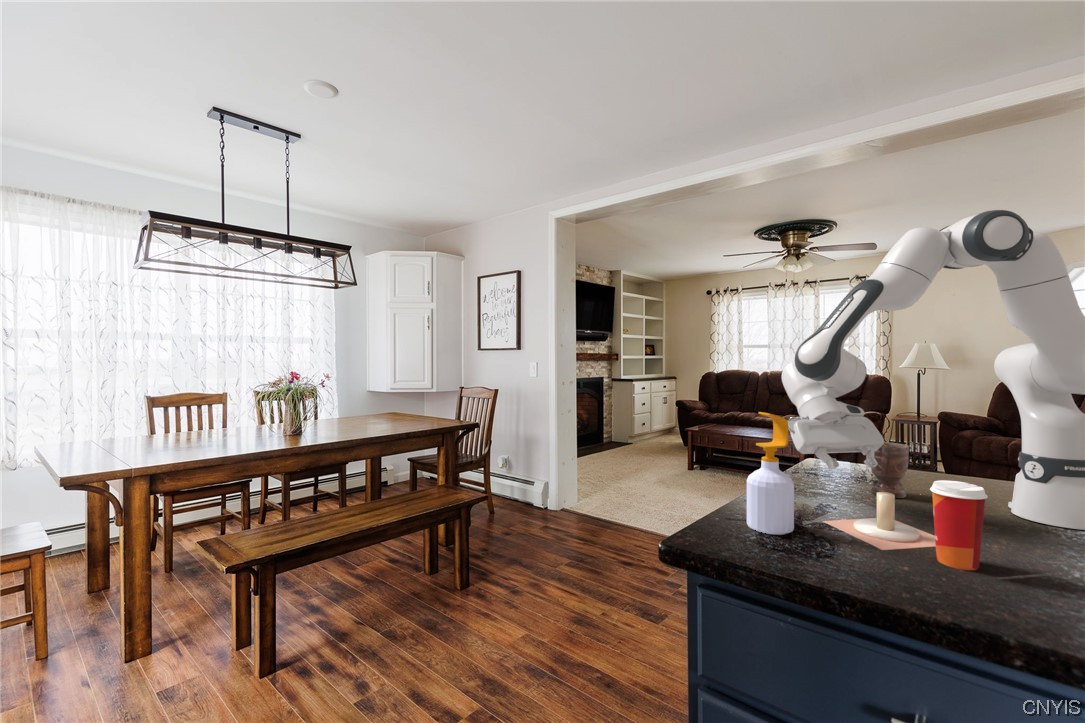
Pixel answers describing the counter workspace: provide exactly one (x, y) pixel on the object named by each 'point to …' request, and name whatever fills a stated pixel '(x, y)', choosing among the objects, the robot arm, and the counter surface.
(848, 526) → the mat
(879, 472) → the mortar and pestle
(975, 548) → the paper cup
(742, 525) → the counter surface
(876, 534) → the lid
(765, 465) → the soap bottle
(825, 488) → the counter surface
